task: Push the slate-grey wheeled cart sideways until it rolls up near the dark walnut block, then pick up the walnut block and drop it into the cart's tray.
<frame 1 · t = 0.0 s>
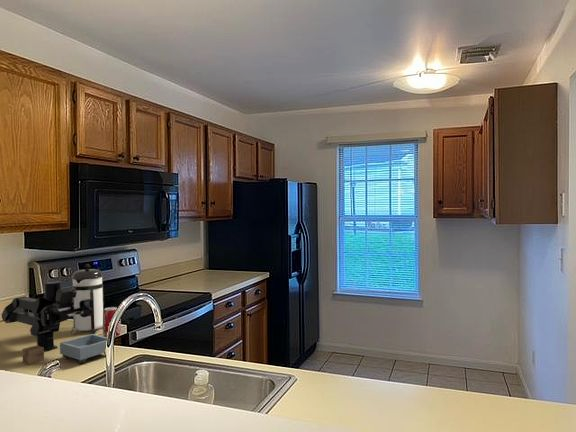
hand: (81, 314, 160), 17 cm above the worktop, tool horizontal, fingers open, 9 cm apart
coffee press: (89, 330, 201), on the worktop
cart: (87, 348, 164), point 3 cm above the worktop, slide at 0.0 cm
walnut block: (33, 362, 160), on the worktop
soda can: (112, 336, 190), on the worktop
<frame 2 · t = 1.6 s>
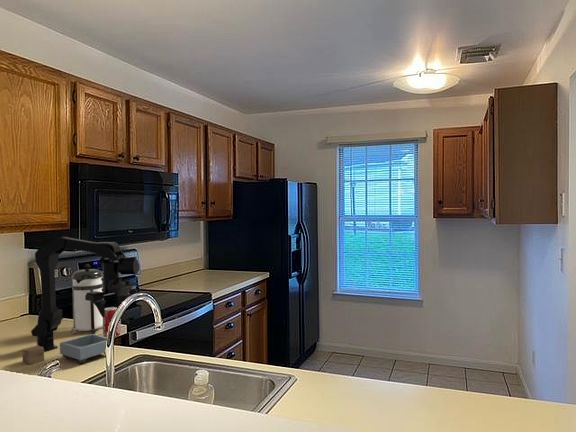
hand: (112, 315, 172), 13 cm above the worktop, tool pointing down, fingers open, 8 cm apart
nothing on the worktop moved.
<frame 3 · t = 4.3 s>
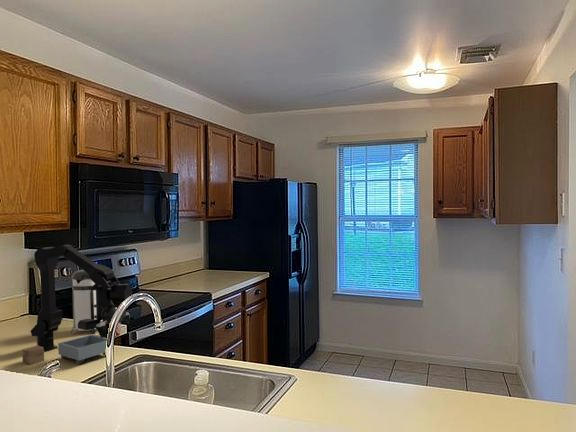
hand: (105, 342, 170), 3 cm above the worktop, tool pointing down, fingers closed
cart: (85, 349, 163), point 3 cm above the worktop, slide at 0.6 cm, touching gripper
everything else where it was.
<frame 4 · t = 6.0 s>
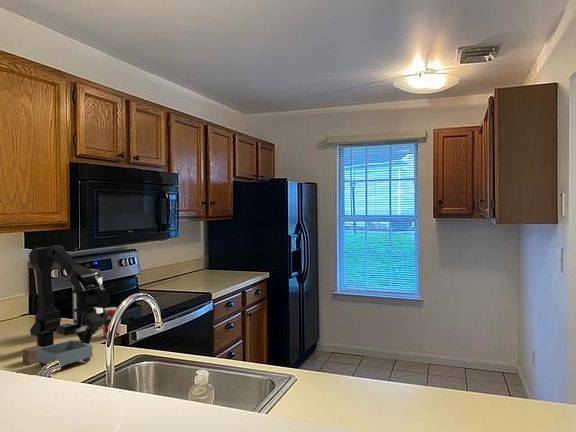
hand: (86, 347, 163), 3 cm above the worktop, tool pointing down, fingers closed
cart: (64, 355, 157), point 3 cm above the worktop, slide at 8.5 cm, touching gripper
everything else where it was.
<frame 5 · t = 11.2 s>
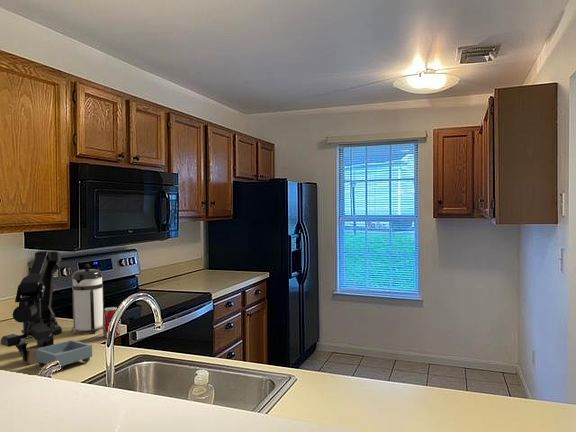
hand: (33, 358, 160), 1 cm above the worktop, tool pointing down, fingers closed on walnut block, 5 cm apart
cart: (64, 355, 156), point 3 cm above the worktop, slide at 8.6 cm
walnut block: (33, 361, 160), on the worktop, touching gripper
everything else where it was.
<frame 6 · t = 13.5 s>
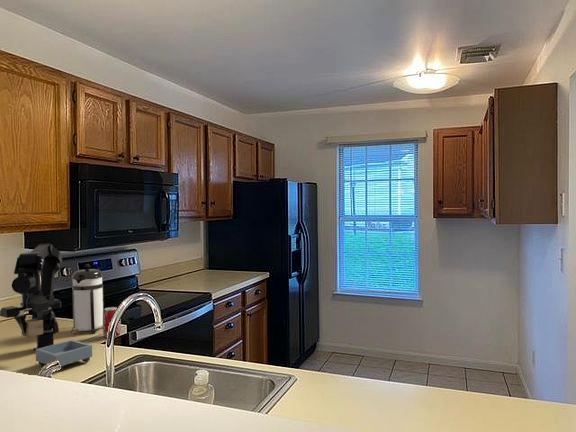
hand: (32, 331, 160), 11 cm above the worktop, tool pointing down, fingers closed on walnut block, 5 cm apart
walnut block: (32, 334, 160), point 10 cm above the worktop, touching gripper
everything else where it was.
when the fingers open (6 cm above the worktop, at t = 16.1 s): walnut block drops 2 cm, resting on cart.
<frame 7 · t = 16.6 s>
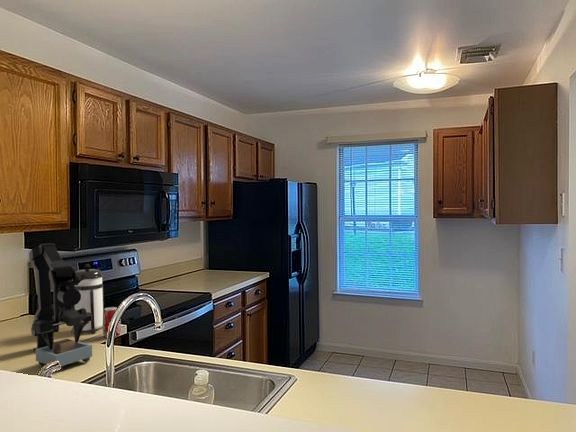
hand: (64, 345, 156), 6 cm above the worktop, tool pointing down, fingers open, 9 cm apart
cart: (64, 355, 156), point 3 cm above the worktop, slide at 8.6 cm, touching walnut block
walnut block: (64, 355, 156), point 3 cm above the worktop, touching cart
everything else where it was.
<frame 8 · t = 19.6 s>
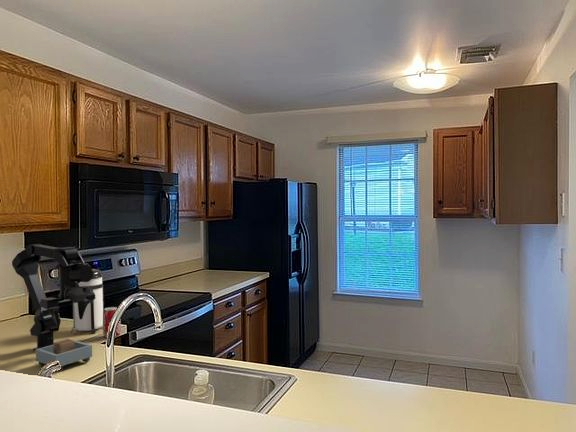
hand: (69, 321, 168), 12 cm above the worktop, tool pointing down, fingers open, 9 cm apart
nothing on the worktop moved.
at the end: cart slide at 8.6 cm; walnut block 0.1 cm from the cart (horizontally); walnut block point 3.0 cm above the worktop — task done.
